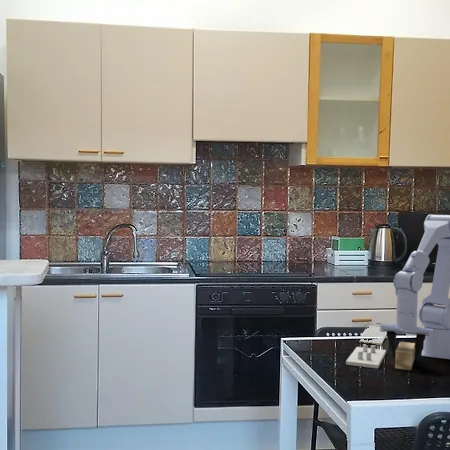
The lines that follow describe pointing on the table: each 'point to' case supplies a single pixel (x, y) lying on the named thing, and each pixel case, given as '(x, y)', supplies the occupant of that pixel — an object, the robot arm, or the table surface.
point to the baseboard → (373, 335)
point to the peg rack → (366, 357)
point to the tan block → (405, 355)
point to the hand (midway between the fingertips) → (405, 358)
